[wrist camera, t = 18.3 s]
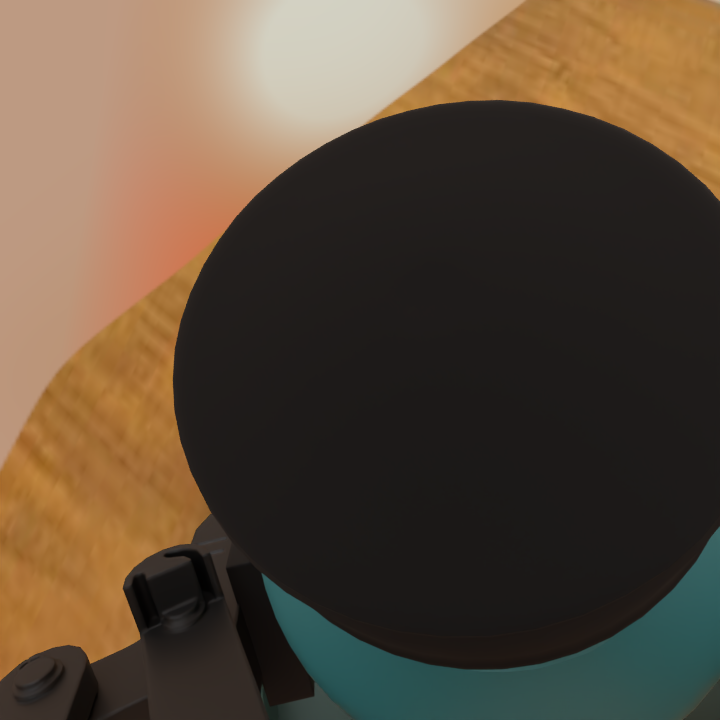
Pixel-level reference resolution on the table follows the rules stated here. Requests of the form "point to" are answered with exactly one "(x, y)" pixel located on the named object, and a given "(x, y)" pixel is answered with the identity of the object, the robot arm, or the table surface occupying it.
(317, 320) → the beverage bottle
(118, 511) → the table surface
